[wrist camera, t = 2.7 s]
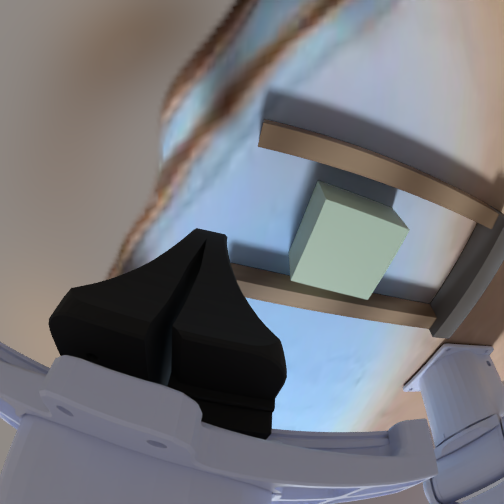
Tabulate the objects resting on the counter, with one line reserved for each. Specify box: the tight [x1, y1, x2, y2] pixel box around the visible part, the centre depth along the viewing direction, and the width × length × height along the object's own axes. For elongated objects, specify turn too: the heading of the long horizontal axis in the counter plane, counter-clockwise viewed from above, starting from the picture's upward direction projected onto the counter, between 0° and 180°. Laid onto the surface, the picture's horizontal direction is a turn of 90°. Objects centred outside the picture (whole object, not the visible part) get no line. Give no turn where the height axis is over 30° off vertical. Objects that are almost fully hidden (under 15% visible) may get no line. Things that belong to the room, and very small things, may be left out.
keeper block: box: [289, 181, 409, 300], centre depth 16 cm, size 5×5×3 cm
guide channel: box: [231, 119, 504, 339], centre depth 16 cm, size 18×10×2 cm, turn 77°
